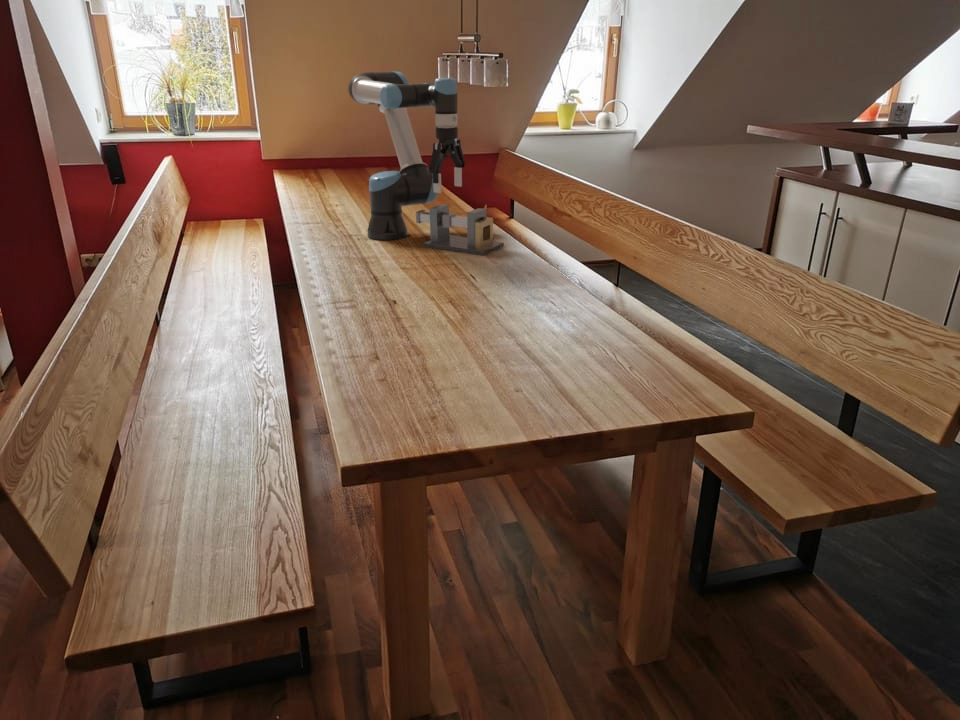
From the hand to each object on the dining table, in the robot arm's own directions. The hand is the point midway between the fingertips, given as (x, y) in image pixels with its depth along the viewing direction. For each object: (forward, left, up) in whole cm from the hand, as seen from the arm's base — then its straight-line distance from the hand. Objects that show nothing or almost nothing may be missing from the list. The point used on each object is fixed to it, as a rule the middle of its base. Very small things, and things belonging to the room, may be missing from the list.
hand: (448, 189), depth 265 cm
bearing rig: (+6, 0, -20) cm, 21 cm away
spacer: (+15, 0, -14) cm, 20 cm away
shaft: (-1, 0, -13) cm, 13 cm away
